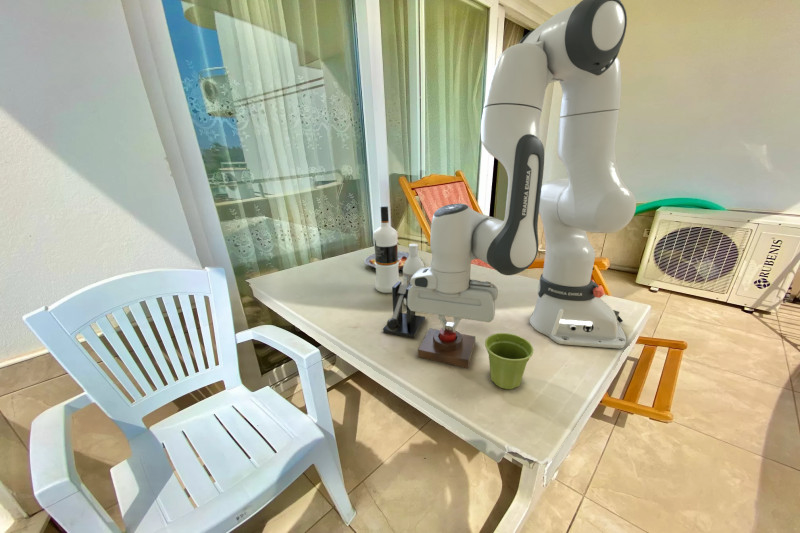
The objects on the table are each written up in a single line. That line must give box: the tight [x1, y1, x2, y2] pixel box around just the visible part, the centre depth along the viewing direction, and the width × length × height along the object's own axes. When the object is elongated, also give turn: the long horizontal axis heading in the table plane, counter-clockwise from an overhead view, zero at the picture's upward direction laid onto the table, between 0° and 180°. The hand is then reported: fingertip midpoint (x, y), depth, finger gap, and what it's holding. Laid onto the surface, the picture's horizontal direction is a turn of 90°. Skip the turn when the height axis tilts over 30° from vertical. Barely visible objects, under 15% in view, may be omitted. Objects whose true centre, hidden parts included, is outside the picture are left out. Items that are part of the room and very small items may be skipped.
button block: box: [417, 327, 476, 369], centre depth 75 cm, size 12×10×4 cm
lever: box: [386, 283, 408, 331], centre depth 80 cm, size 13×3×3 cm
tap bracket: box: [382, 280, 426, 339], centre depth 84 cm, size 10×9×13 cm
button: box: [439, 327, 457, 342], centre depth 74 cm, size 4×4×2 cm
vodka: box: [372, 205, 401, 294], centre depth 105 cm, size 9×9×30 cm
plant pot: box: [484, 332, 534, 390], centre depth 64 cm, size 9×9×9 cm
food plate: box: [364, 250, 423, 272], centre depth 134 cm, size 25×23×4 cm
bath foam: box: [402, 243, 425, 306], centre depth 96 cm, size 7×7×20 cm
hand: (449, 330), depth 73 cm, fingers closed
